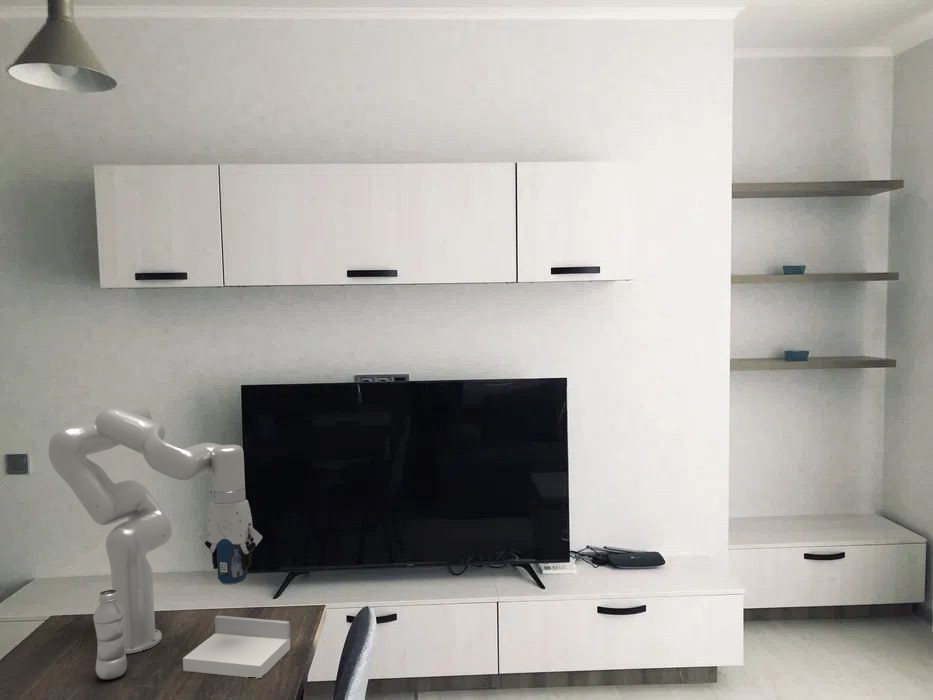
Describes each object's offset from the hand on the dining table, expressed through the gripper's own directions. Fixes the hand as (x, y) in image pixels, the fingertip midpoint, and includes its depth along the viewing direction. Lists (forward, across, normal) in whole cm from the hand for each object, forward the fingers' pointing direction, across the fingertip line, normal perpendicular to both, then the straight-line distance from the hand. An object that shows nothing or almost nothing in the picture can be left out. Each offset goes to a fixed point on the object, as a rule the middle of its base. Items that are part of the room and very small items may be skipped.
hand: (232, 567), depth 176 cm
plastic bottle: (+22, -24, -14) cm, 35 cm away
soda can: (+4, 0, 0) cm, 4 cm away
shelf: (+22, +2, -2) cm, 22 cm away
